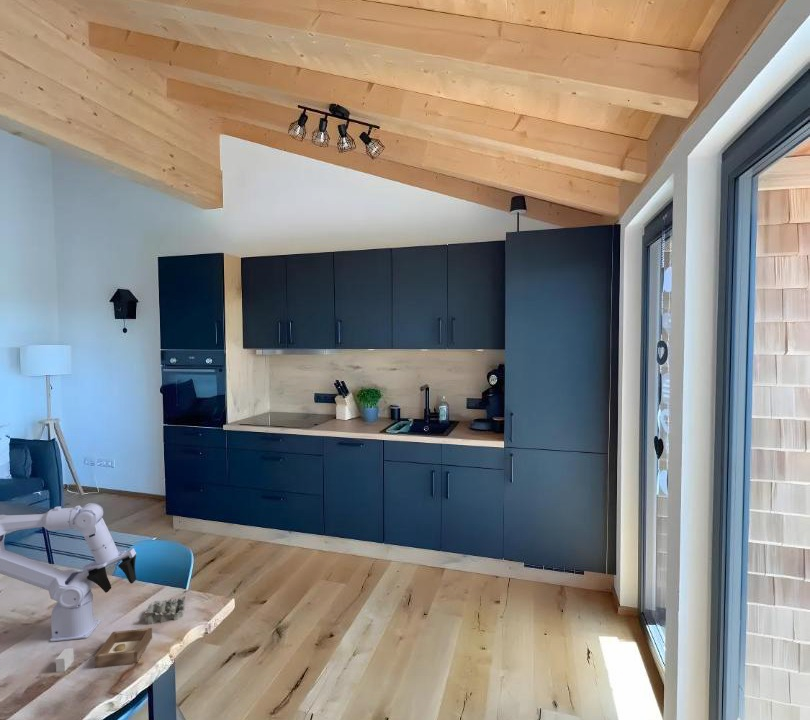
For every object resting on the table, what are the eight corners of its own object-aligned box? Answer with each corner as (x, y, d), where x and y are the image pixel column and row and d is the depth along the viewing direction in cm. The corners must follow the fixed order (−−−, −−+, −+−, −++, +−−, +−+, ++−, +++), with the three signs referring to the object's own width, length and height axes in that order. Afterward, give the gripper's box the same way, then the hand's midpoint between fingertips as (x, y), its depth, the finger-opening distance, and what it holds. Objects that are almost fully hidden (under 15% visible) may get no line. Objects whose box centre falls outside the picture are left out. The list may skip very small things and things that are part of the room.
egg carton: (142, 627, 135) (141, 613, 135) (149, 612, 143) (149, 599, 142) (181, 621, 138) (181, 607, 138) (187, 606, 145) (186, 594, 145)
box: (95, 667, 118) (94, 656, 118) (113, 642, 128) (112, 631, 128) (137, 663, 120) (137, 652, 120) (152, 638, 130) (151, 628, 130)
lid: (27, 687, 113) (26, 671, 113) (54, 656, 124) (53, 641, 124) (76, 681, 114) (76, 666, 114) (99, 652, 125) (98, 637, 125)
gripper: (68, 561, 129) (88, 603, 131) (118, 543, 130) (137, 585, 132) (84, 547, 136) (103, 588, 138) (131, 531, 137) (149, 571, 139)
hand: (121, 585), depth 135 cm, fingers open, 7 cm apart
